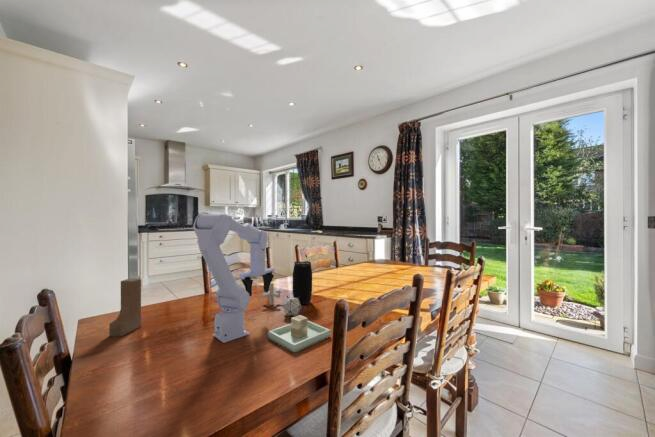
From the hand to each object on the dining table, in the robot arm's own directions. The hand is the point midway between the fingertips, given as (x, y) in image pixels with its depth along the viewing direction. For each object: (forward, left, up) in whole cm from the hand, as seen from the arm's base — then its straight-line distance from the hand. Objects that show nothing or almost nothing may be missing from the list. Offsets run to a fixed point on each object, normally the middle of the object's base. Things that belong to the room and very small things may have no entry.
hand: (257, 293), depth 111 cm
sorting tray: (+2, -24, -10) cm, 26 cm away
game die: (+13, -6, -11) cm, 18 cm away
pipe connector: (+15, +12, -11) cm, 22 cm away
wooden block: (-39, +23, -11) cm, 47 cm away
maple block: (+2, -24, -10) cm, 26 cm away
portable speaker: (+27, +4, -11) cm, 29 cm away
